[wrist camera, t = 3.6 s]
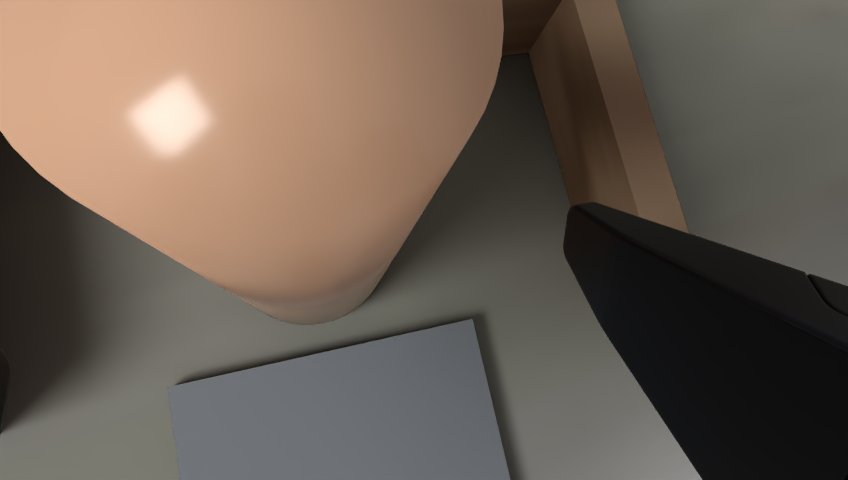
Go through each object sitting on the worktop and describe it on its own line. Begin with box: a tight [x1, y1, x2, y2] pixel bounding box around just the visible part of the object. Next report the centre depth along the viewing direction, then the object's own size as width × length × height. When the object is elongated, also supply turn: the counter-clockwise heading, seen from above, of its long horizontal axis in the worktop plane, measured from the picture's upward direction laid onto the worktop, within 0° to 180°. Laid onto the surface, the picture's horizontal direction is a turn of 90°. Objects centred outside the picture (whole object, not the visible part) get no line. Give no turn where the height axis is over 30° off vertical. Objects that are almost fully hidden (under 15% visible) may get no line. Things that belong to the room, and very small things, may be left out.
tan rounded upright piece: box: [0, 0, 504, 325], centre depth 12 cm, size 8×6×14 cm
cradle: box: [502, 0, 689, 233], centre depth 17 cm, size 12×23×4 cm, turn 103°
